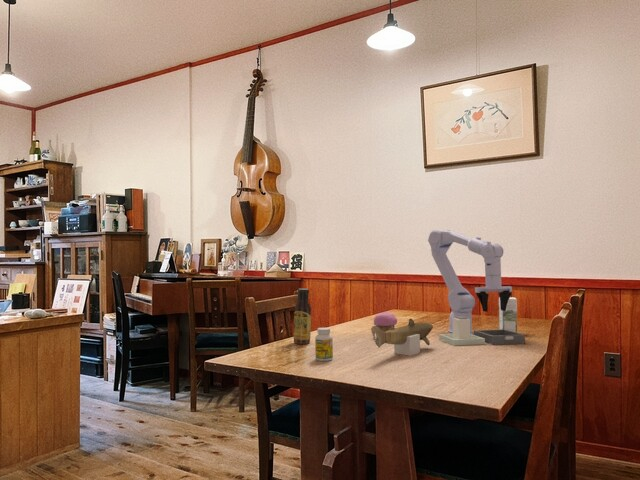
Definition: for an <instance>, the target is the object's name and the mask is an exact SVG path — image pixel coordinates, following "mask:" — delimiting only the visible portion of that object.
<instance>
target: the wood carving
mask: <svg viewBox="0 0 640 480" xmlns="http://www.w3.org/2000/svg"><path fill="white" fill-rule="evenodd" d="M390 327H391V329H390V330H388V331H386V332H383V331H382V330H381V329H380V328H379V327H377V326H375V325H372V326H371V329H370V330H371V333H372V336H373V340H374V343H375V345H376V346H377V348H381V347H382V346H383V345H385V344H386V345H387V344H388V345H393V347H394V349H393V350H394V351H393V353H394V354H396V353H397V354H398V355H404V356H409V357H410V356H414V355H417V354H420V353H421V343H420V342H421V341H424V342H425V344H426V346H427V345H428V346H429V345H430V344H431V343H430V340H429V339H428V338H427V336H428V335H430V333H431V332H432V330H433V328H434V326H433V325H432V323H428V322H417V323H416V322H415V321H414V319H413V318H408V324H407V325H403V326H399V327H395V326H394V327H393V326H390Z"/></svg>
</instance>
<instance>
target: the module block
mask: <svg viewBox="0 0 640 480" xmlns="http://www.w3.org/2000/svg"><path fill="white" fill-rule="evenodd" d="M452 334H453V339H470V319H467V317H463V316H461V317H456V318H453V333H452Z"/></svg>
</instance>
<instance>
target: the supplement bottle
mask: <svg viewBox="0 0 640 480" xmlns="http://www.w3.org/2000/svg"><path fill="white" fill-rule="evenodd" d="M316 331H317V335H316V336H315V339H314V341H315V345H314V346H315V360H316V361H321V362H330V361H332V360H333V359H334V357H333V355H334V354H333V353H334V352H333V351H334V348H333V345H334V344H333V336H332V335H331V334H330V333H331V328H330V327H318V328H317V329H316Z"/></svg>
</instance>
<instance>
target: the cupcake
mask: <svg viewBox="0 0 640 480" xmlns="http://www.w3.org/2000/svg"><path fill="white" fill-rule="evenodd" d="M397 323H398V318H397V317H396V316H395V314H393V313H392V312H388V311H384V312H379V313H377V314H376V315H375V317H374V319H373V326H377V327H379V328H380V329H381V330H382V331H383V332H386V331H388V330H390V329H391V327H390V326H393V327H394V328H395V326H396V325H397Z"/></svg>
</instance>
